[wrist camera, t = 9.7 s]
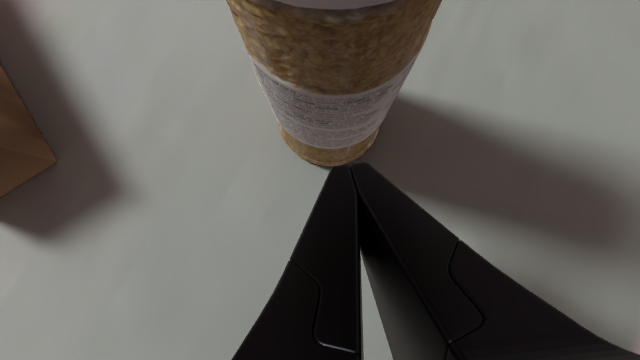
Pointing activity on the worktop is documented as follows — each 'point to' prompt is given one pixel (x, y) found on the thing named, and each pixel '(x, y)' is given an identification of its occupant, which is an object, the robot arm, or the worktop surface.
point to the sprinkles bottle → (332, 66)
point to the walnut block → (19, 141)
